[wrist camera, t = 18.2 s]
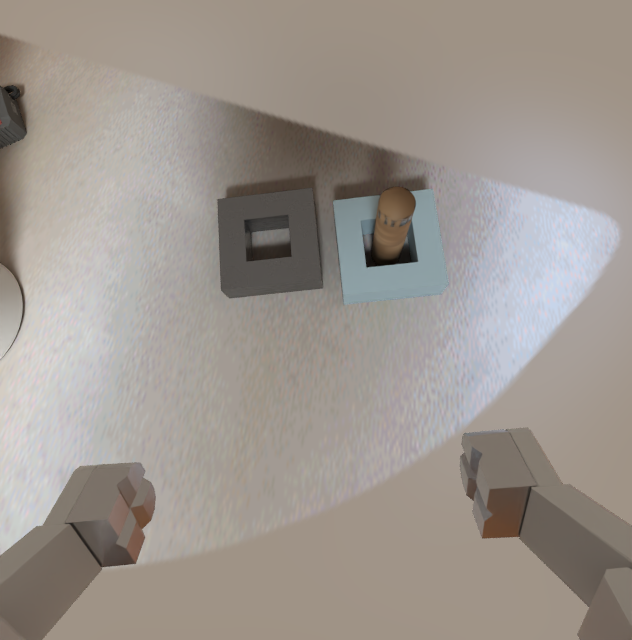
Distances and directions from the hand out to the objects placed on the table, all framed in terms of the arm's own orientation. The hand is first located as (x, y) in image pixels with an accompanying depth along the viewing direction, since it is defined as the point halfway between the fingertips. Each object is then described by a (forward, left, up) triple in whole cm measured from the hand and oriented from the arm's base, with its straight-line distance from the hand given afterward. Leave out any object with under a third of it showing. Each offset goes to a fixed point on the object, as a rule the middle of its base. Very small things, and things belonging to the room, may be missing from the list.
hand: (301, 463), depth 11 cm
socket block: (-5, +19, -31) cm, 37 cm away
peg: (+7, +17, -31) cm, 37 cm away
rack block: (+7, +17, -31) cm, 37 cm away
